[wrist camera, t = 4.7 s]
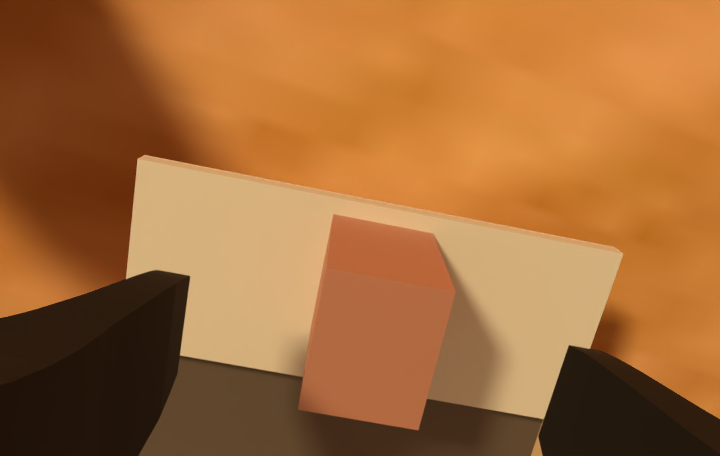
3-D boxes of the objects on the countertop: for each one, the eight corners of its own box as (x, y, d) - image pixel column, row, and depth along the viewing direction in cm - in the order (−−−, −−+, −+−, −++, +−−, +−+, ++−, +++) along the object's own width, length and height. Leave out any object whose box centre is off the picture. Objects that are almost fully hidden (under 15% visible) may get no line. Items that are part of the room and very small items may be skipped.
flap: (557, 411, 17) (618, 523, 13) (126, 335, 16) (53, 430, 12) (615, 246, 15) (701, 318, 11) (144, 154, 14) (68, 197, 11)
